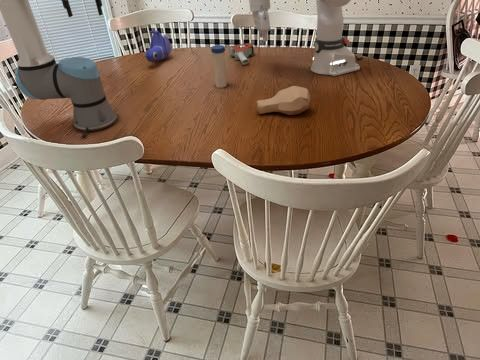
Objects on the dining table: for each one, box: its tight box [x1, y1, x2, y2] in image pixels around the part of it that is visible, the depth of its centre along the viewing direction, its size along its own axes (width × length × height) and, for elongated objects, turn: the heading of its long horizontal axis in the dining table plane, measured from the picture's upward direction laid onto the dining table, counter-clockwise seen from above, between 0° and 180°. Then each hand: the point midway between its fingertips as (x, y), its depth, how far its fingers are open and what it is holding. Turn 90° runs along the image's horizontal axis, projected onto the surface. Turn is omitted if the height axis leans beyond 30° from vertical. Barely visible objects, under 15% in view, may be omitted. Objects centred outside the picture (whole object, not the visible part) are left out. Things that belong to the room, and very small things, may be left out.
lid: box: [210, 44, 226, 54], centre depth 147 cm, size 6×6×2 cm
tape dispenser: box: [228, 42, 255, 66], centre depth 185 cm, size 18×5×20 cm
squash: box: [255, 85, 312, 116], centre depth 130 cm, size 11×20×9 cm, turn 92°
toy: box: [144, 30, 172, 67], centre depth 185 cm, size 10×17×25 cm
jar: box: [212, 51, 228, 89], centre depth 152 cm, size 5×5×16 cm
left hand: (85, 15), depth 157 cm, fingers open, 13 cm apart
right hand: (263, 39), depth 160 cm, fingers open, 8 cm apart
